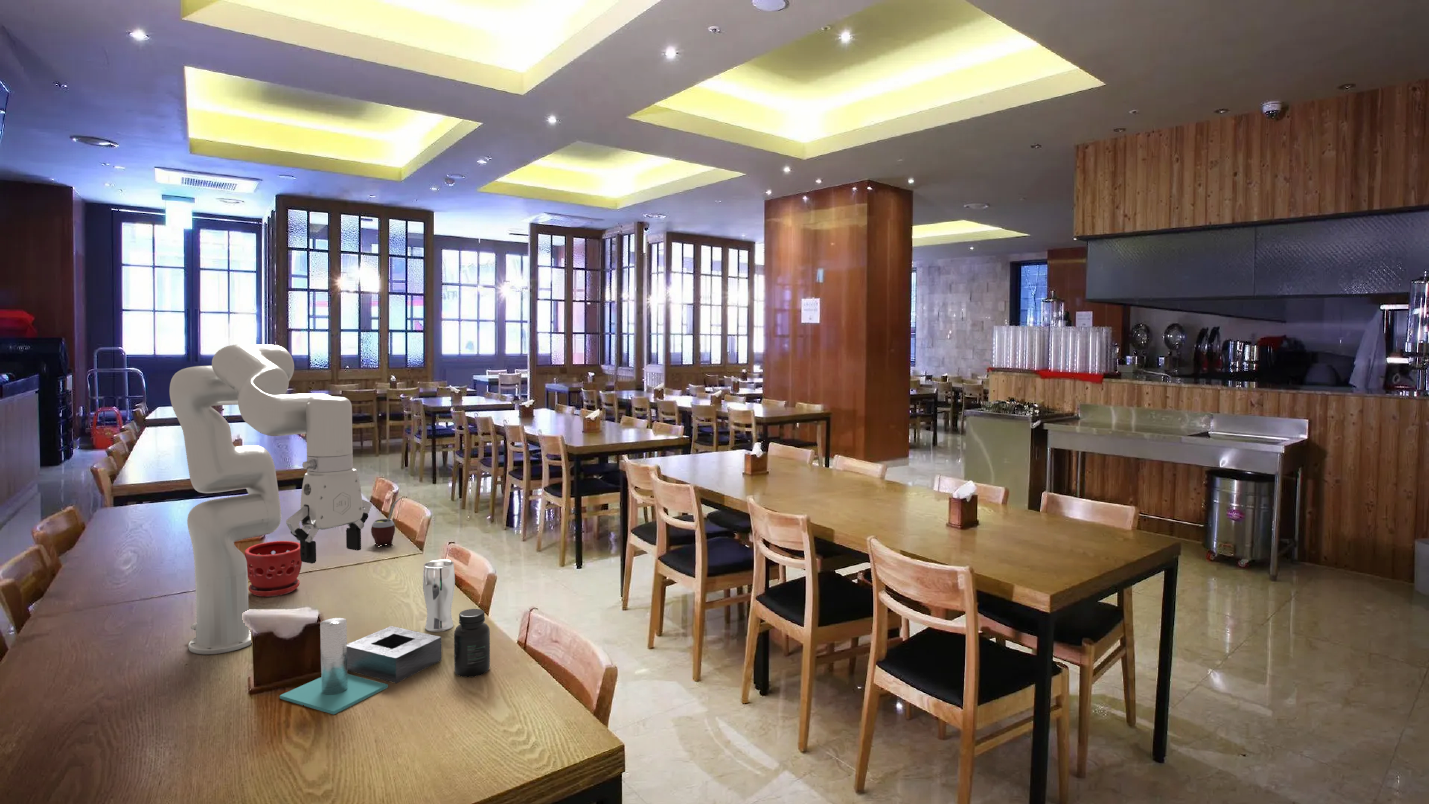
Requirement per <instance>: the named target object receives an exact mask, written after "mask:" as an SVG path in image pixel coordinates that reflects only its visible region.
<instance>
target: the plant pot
mask: <svg viewBox="0 0 1429 804" xmlns="http://www.w3.org/2000/svg"><path fill="white" fill-rule="evenodd" d="M272 552H274V553H272ZM244 556H245V558H246V560H247V571H248V582H250V585H248V592H250V593H251V595H254V596H258V597H266V598H267V597H268V598H270V597H278V596H283V595H287V594H289V593H291V592H294V591H295V590H296V589H298V588H299V586H300V583H301V582H300V579H298V577H299V575H300V572H301V569H302V563H303V562H302V561H301V557H300V542H297V541H290V540H274V541H267V542H261V543H257V544H254V545H251V546H249V547H247V548H246V549H245V550H244Z"/></svg>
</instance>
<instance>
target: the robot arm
mask: <svg viewBox="0 0 1429 804" xmlns="http://www.w3.org/2000/svg"><path fill="white" fill-rule="evenodd" d="M294 372H295V363H294V359H293V357H292V355H291V353H290V352H289V350H287V349H286V348H285V347H283V346H280V345H278V344H275V345H274V344H231V345H226V346H224V347H222V348H220V349H218V351H217V352H215V354H214V355H213V357H212V360H211V365H196V366H190V367H186V368H185V367H184V368H182V369H180V370H178V371H177V372H175V373H174V375H172V378H171V380H170V383H169V399H170V404H171V407H172V409H173V412H174V414H175V416H176V418H177V420H178V422H179V424H180V427H181V430H182V433H183V439H184V447H185V455H186V461H187V469H188V474H189V480H190V482H191V485H192V487H193V489H194V490H195V491H197V492H198V493H202V494H213V493H214V494H215V493H223V492H230V491H238V490H245V489H246V492H247V494H243V495H238V496H235V495H234V496H226V497H221V498H215V499H211V500H210V499H209V500H206V501H202V502H200V503H198V504H196V505H195V506H193V507H192V508H191V510H190V511H189V513H188V515H187V519H186V521H187V529H188V533H189V537H190V541H191V546H192V553H193V562H194V563H193V564H194V566H193V567H194V583H195V585H194V586H195V610H196V611H195V612H196V614H195V615H196V616H195V617H196V622H194V623H192V624H191V625H190V629H191V630H192V631H195V637H194V638H192V639H191V640H190V641H189V642H188V644H187V646H188V647H187V648H188V651H189V652H191V653H192V654H198V655H216V654H223V653H230V652H234V651H237V650H241V649H244V648H246V647H249V646H251V645H252V644H251V632H250V630H249V629H250V628H249V629H248V627H247V626H245V623H243V620H242V613H243V612H245V611H247V610H249V608H250V607H249V579H248V571H247V560H246V558H245V553H243V552H242V551H241V550H240V549H239V548H238V547H236V545H235V542H239V541H242V540H249V539H252V538H258V537H262V536H267V535H270V534H273V533H275V532H276V531H277V530H278V529H279V527H280V525H281V522H282V508H281V499H280V493H279V486H278V478H277V472H276V465H275V462H274V459H273V457H272V455H271V453H270V452H269V451H268V450H267V449H266V448H265V447H263V446H261V445H255V444H249V445H238V446H237V445H236V446H235V445H234V442H233V438H232V428H231V426H230V423H229V422H228V421H227V420H226V418H225V417H224V416H222V414H221V413H220V412H219V411H217V410H216V409H215V408H214V406H235V405H237V406H238V409H239V410H238V411H239V413H240V416H241V418H242V419H243V421H244V422H245V424H247V425H248V426H250V427H251V428H252V429H254V430H256V431H257V432H258V433H260V434H262V435H264V436H270V437H283V436H291V435H292V436H293V435H305V434H306V461H302V468H303V469H304V470H306V473H304V476H303V480H302V487H301V495H300V509H298V510H297V511H296V512H295V513H293V514H292V515H291V516H290V517H288V518H287V519H286V521H285V524H286V526H287V527H288V529H289V531H290V534H291V535H292V536H293V537H295V539H296V540H297V541H299V543H300V557H301V561H302V563H306V564H311V565H312V564H315V563H316V562H317V543H316V541H315V540H314V538H315V537H316V535H317V533H318V532H319V531H320V530H329V529H333V528H338V527H342V526H345V525H347V526H348V527H346V529H345V532H346V533H345V536H346V537H345V539H346V540H345V541H346V549H347V550H352V551H361V550H362V533H361V532H362V529H364V527H365V522H366V521H367V520H368V518H369V514H370V511H371V508H372V505H373V504H372V502H371V501H366V500H364V499H363V497H362V496H363V495H362V488H361V487H362V486H361V482H360V478H359V477H360V476H359V474H358V470H357V469H356V468H354V464H353V463H354V461H353V460H354V459H353V458H354V457H353V456H354V455H353V451H354V450H353V405H352V402H351V400H350V399H348V398H347V397H345V396H332V395H330V394H328V393H327V394H326V393H321V392H320V393H317V392H316V393H291V394H288V393H287V392H288V389H289V387H290V385H289V383H290V381H291V379H292V378H293V375H294ZM300 523H301V525H302V527H301V526H300Z"/></svg>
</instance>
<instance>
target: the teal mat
mask: <svg viewBox="0 0 1429 804" xmlns="http://www.w3.org/2000/svg"><path fill="white" fill-rule="evenodd" d="M347 675H348V689H347V690H346V691H344V692H342V693H339V694H335V695H325V694H322V688H321V677H320V676H319V677H317V678H315V679H314V680H312V681H309V682H307V683H304V684H303V685H300V686H298V687H296V688H293V689H291V690H289V691H287V692H286V691H285V692H284V693H282V694H280V695H279V699H281V700H284V701H287V702H290V703H293V704H297V705H300V706H303V705H304V707H307V708H311V709H313V710H317V711H320V712H324V713H328V714H331V715H336V714H338V713H340V712H342V711H344V710H346V709H348V708H350V707H352V706H354V705H357V704H358V703H359V702H362V701H365V699H368V698H370V697H372V696H374V695H376V694H378V693H380V692H381V691H383V690H384V691H385V690H386V689H388V688H389V685H388V684H387V683H384V682H380V681H376V680H372V679H368V678H365V677H360V676H358V675H353V674H350V673H347Z"/></svg>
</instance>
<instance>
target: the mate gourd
mask: <svg viewBox="0 0 1429 804" xmlns="http://www.w3.org/2000/svg"><path fill="white" fill-rule="evenodd" d="M401 499H402V497H399V498H398V499H396V500H395V501H394V502H393V504H392V505H391V509H390V510H389V511H390V512H389V515H388V518H381V519H377V520H374V521H373V522H372V524H371V528H370V533H371V536H372V539H373V540H374V543H376V544H378V545H377V546H380V545H384V544H387V545H393V540H394V535H395V533H396V525H395V522H394V521H393V520H392V519H391V517H392V513H393V512H394V511H393V509H394V508H395V505H396V504H397V503H398V502H399V501H400V500H401Z"/></svg>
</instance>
